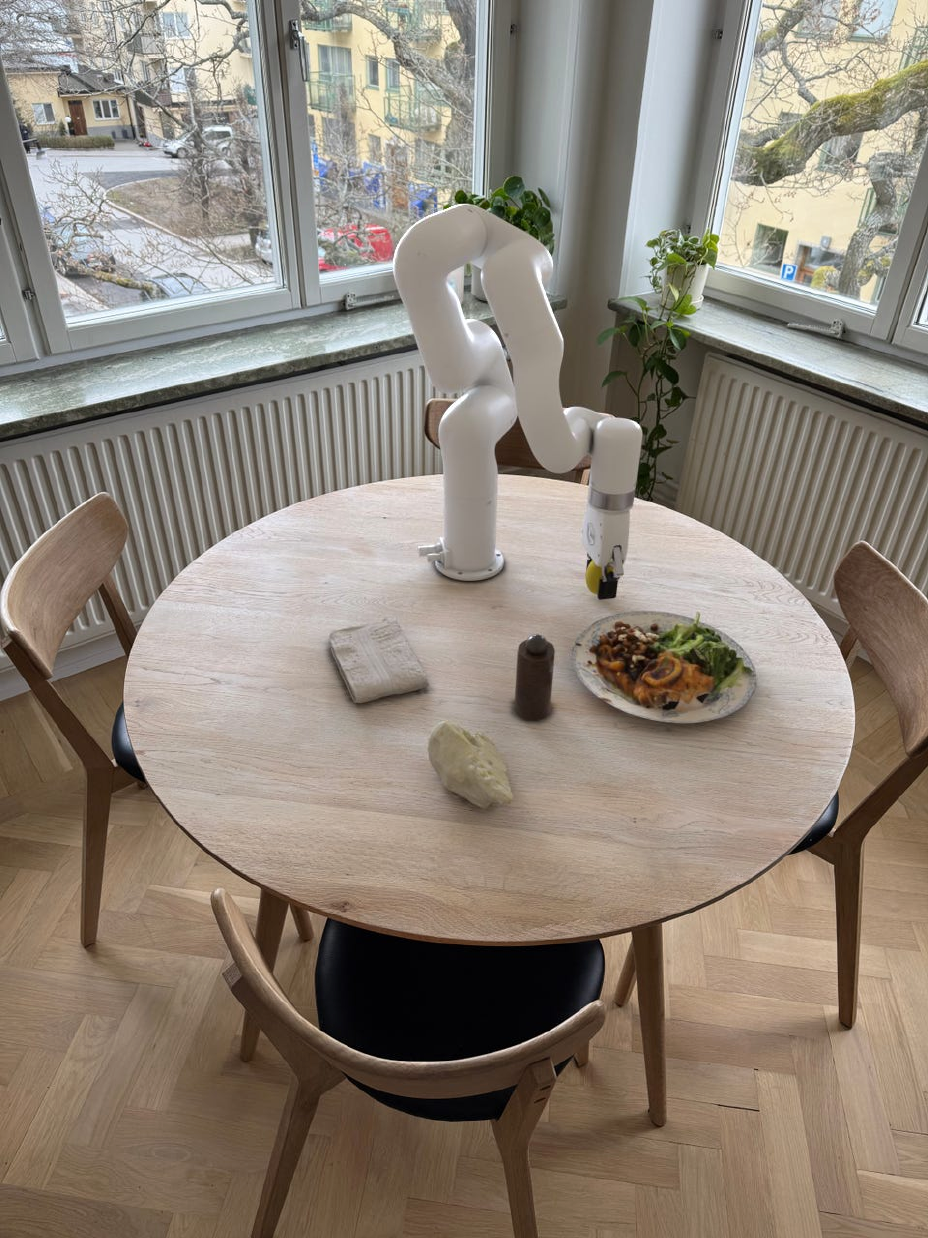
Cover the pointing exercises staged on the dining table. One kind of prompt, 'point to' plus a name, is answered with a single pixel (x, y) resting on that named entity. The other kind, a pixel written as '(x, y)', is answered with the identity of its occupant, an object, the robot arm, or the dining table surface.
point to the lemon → (594, 576)
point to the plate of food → (664, 667)
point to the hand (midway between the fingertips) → (600, 587)
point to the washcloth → (376, 660)
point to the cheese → (469, 764)
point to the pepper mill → (534, 678)
